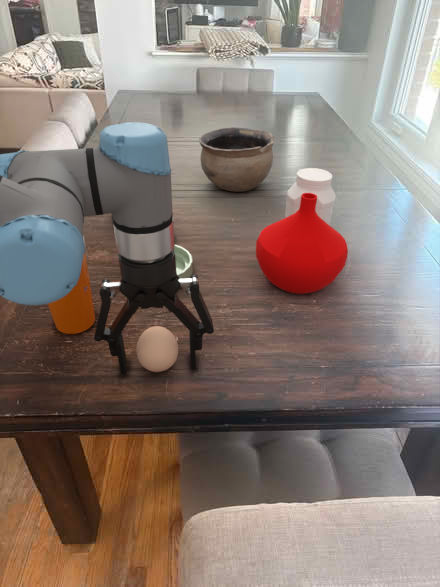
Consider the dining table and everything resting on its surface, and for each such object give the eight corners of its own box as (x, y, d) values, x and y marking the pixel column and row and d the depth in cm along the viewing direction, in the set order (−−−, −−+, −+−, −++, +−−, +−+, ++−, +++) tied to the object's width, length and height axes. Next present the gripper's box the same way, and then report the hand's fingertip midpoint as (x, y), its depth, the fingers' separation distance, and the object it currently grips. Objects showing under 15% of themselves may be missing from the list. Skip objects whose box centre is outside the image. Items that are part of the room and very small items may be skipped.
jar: (279, 236, 103) (286, 178, 94) (287, 219, 111) (294, 164, 102) (325, 244, 101) (337, 185, 92) (330, 226, 108) (341, 170, 99)
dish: (124, 295, 83) (121, 281, 81) (128, 257, 94) (126, 244, 92) (194, 291, 84) (194, 277, 82) (190, 254, 96) (190, 241, 94)
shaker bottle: (63, 345, 71) (33, 245, 59) (42, 319, 77) (11, 222, 65) (109, 323, 76) (90, 226, 64) (86, 300, 81) (65, 207, 69)
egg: (172, 384, 65) (169, 348, 60) (132, 377, 66) (126, 341, 61) (184, 354, 70) (182, 319, 65) (146, 348, 71) (142, 313, 66)
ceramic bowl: (260, 206, 117) (264, 153, 108) (189, 195, 122) (187, 143, 113) (277, 178, 134) (282, 130, 125) (213, 169, 139) (214, 122, 130)
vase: (342, 312, 80) (365, 223, 68) (248, 300, 82) (254, 213, 71) (337, 261, 94) (355, 181, 83) (257, 253, 97) (264, 174, 85)
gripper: (229, 231, 59) (225, 344, 72) (61, 238, 56) (90, 353, 70) (236, 260, 53) (231, 376, 66) (50, 269, 50) (83, 388, 64)
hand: (158, 364), depth 68 cm, fingers open, 11 cm apart
